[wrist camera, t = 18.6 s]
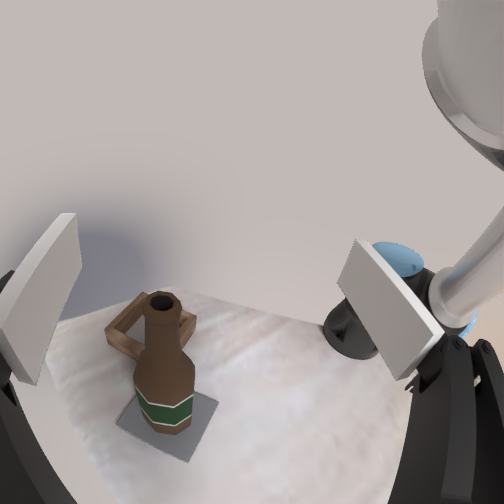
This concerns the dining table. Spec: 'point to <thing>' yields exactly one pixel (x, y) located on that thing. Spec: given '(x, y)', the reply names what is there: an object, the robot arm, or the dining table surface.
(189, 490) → the dining table surface
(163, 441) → the coaster
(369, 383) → the dining table surface
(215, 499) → the dining table surface
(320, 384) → the dining table surface
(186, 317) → the caddy
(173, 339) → the beer bottle
